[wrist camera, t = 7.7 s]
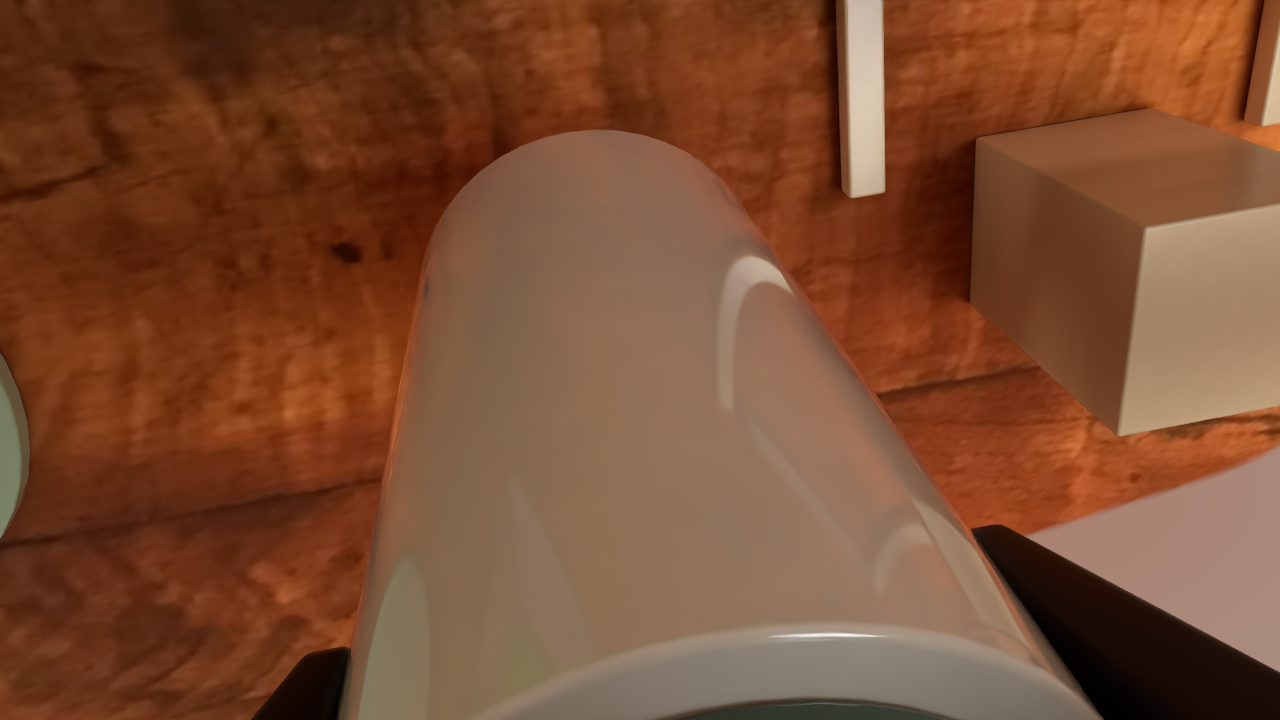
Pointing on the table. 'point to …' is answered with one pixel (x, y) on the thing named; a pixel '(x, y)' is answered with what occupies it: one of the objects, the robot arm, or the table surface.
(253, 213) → the table surface
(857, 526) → the jar
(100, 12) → the table surface
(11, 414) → the coaster
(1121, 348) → the jar stand
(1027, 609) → the robot arm
